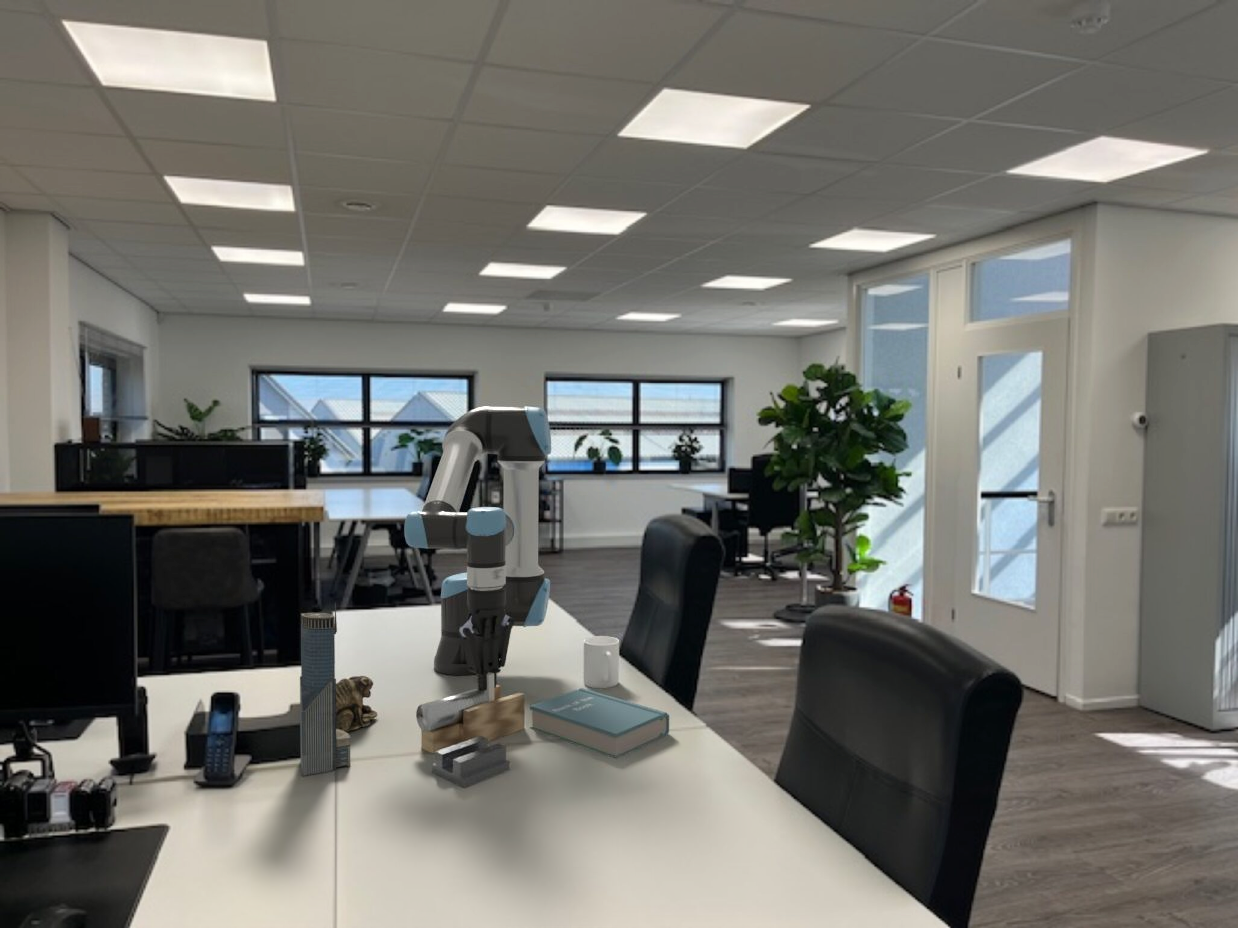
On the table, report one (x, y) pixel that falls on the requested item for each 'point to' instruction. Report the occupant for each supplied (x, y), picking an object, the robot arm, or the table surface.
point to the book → (599, 722)
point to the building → (320, 698)
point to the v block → (470, 761)
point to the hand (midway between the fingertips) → (487, 705)
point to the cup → (601, 662)
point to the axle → (448, 709)
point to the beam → (480, 722)
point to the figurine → (353, 703)
